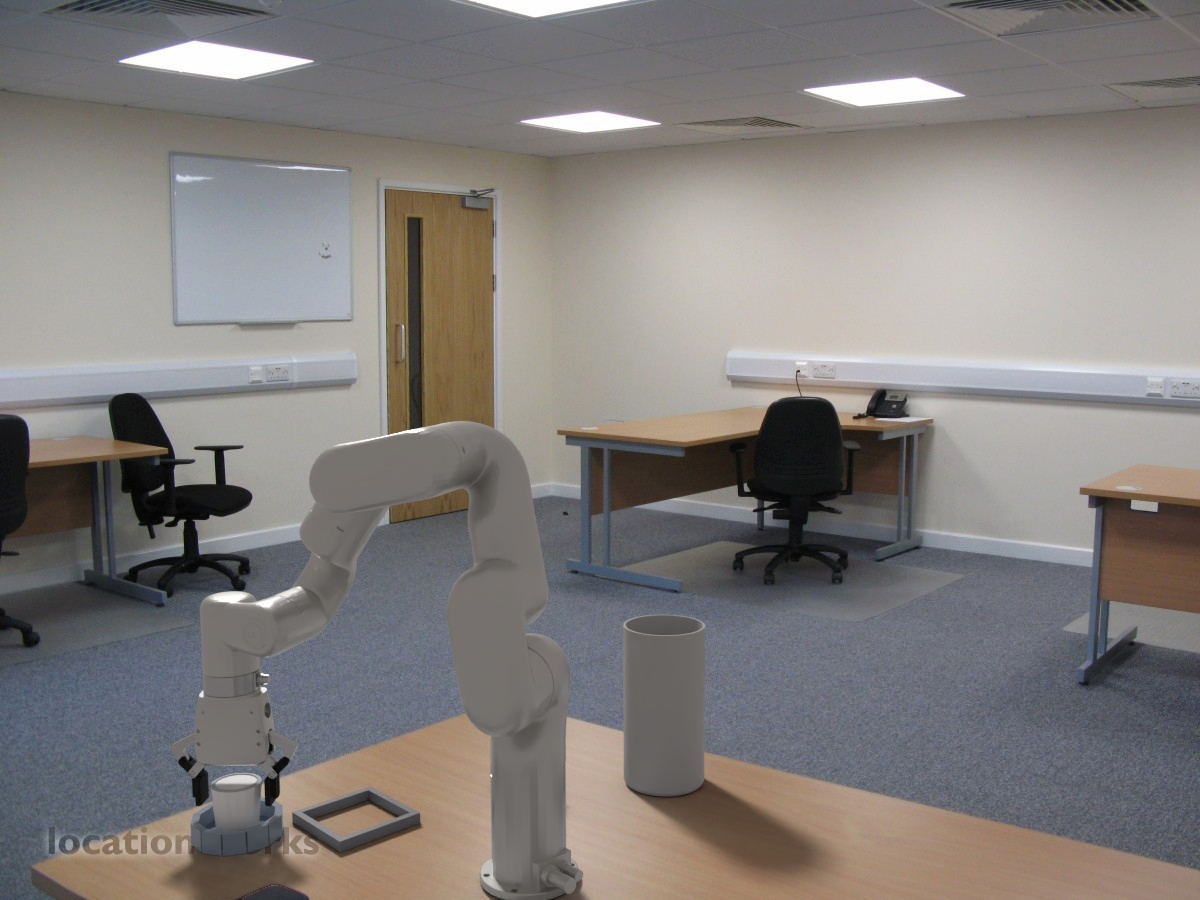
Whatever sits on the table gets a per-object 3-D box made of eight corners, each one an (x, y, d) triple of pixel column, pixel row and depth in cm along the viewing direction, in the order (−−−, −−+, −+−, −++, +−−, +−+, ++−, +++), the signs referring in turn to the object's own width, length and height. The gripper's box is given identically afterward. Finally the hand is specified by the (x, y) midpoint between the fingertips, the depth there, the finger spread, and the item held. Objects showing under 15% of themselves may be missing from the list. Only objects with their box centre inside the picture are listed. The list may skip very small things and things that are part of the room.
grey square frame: (420, 822, 158) (420, 812, 158) (340, 852, 149) (339, 841, 149) (370, 795, 168) (370, 786, 168) (292, 822, 159) (292, 812, 159)
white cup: (271, 820, 158) (269, 772, 157) (251, 842, 151) (249, 792, 150) (225, 818, 158) (223, 770, 158) (203, 839, 151) (201, 790, 151)
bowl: (298, 835, 154) (297, 815, 154) (216, 864, 146) (215, 842, 146) (258, 809, 163) (257, 789, 163) (177, 835, 155) (176, 814, 154)
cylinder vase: (661, 805, 164) (661, 640, 161) (607, 779, 173) (606, 623, 171) (721, 784, 171) (722, 626, 169) (666, 760, 181) (666, 610, 179)
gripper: (302, 674, 156) (306, 791, 158) (180, 674, 156) (185, 791, 158) (286, 691, 148) (290, 814, 150) (158, 691, 149) (164, 813, 151)
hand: (236, 802), depth 154 cm, fingers open, 9 cm apart
